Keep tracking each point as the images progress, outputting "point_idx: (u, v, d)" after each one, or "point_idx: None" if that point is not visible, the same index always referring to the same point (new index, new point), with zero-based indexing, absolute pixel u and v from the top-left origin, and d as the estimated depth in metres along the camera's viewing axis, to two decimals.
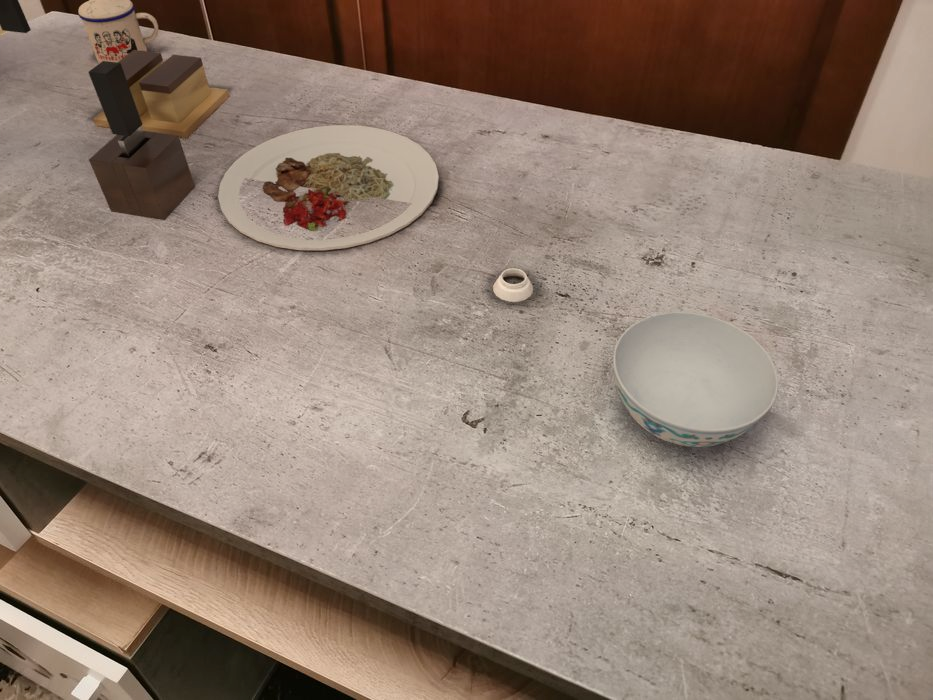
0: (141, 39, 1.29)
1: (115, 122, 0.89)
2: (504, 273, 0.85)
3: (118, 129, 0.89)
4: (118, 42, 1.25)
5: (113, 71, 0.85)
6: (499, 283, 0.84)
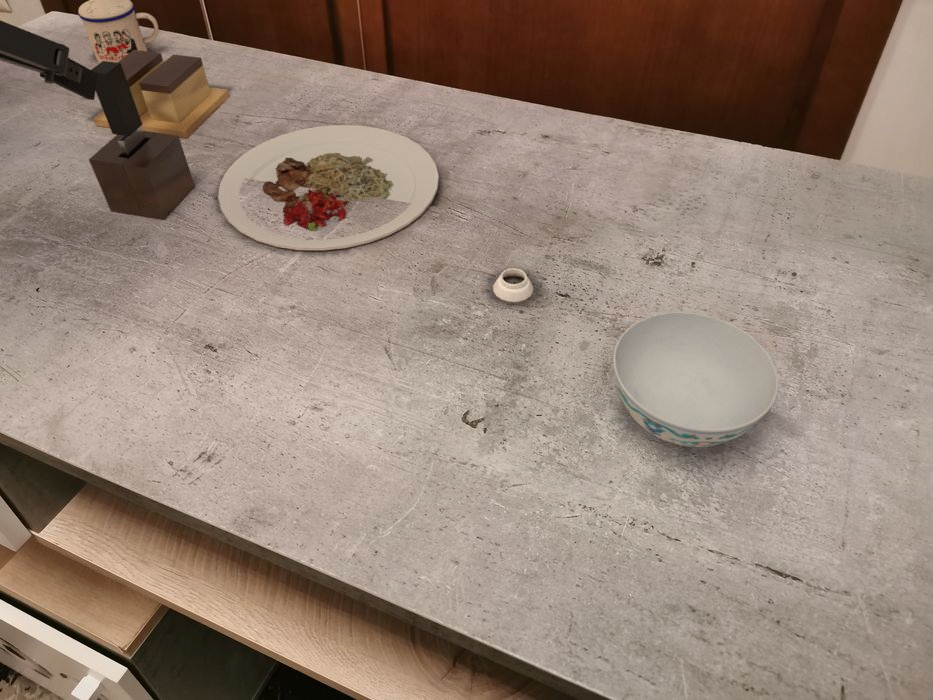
0: (141, 39, 1.29)
1: (115, 122, 0.89)
2: (504, 273, 0.85)
3: (118, 129, 0.89)
4: (118, 42, 1.25)
5: (113, 71, 0.85)
6: (499, 283, 0.84)
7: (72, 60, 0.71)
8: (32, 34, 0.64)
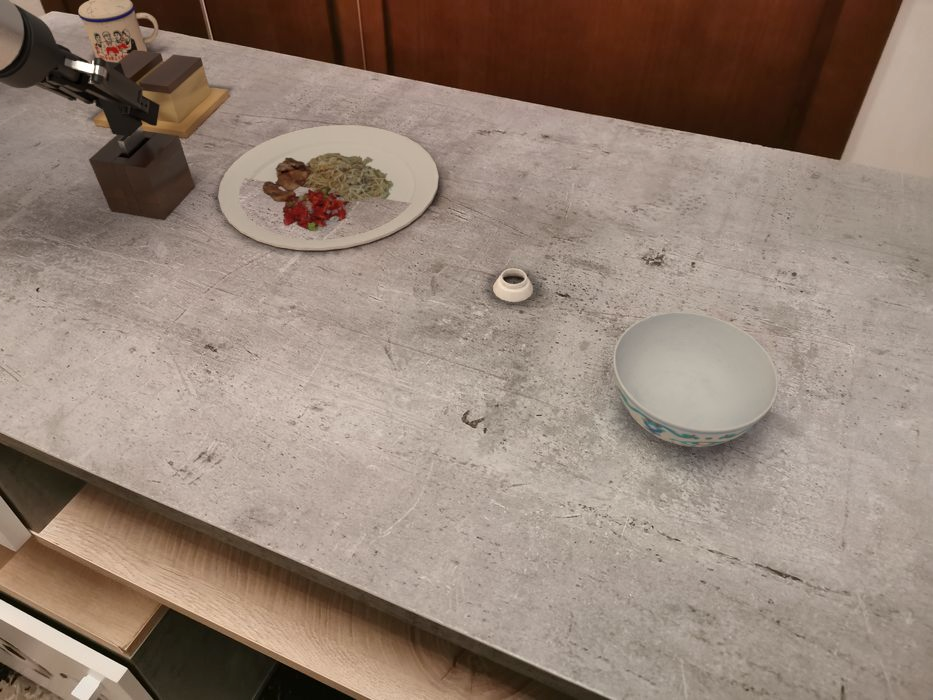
0: (141, 39, 1.29)
1: (115, 122, 0.89)
2: (504, 273, 0.85)
3: (118, 129, 0.89)
4: (118, 41, 1.25)
5: None
6: (499, 284, 0.84)
7: (141, 95, 0.90)
8: (129, 80, 0.82)
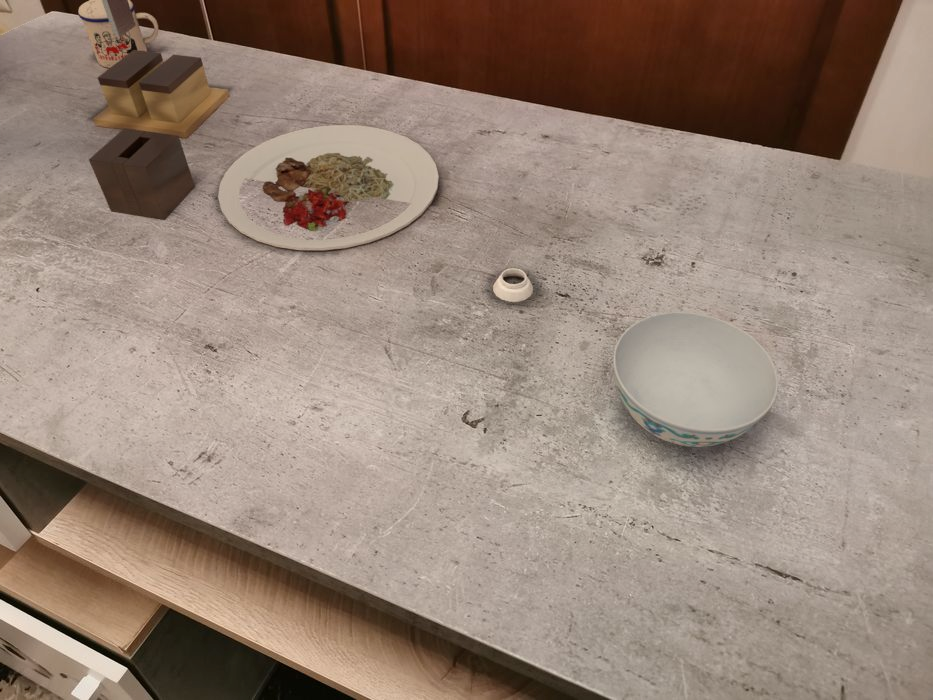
0: (141, 39, 1.29)
1: None
2: (504, 273, 0.85)
3: None
4: (118, 42, 1.25)
5: None
6: (499, 284, 0.84)
7: None
8: None
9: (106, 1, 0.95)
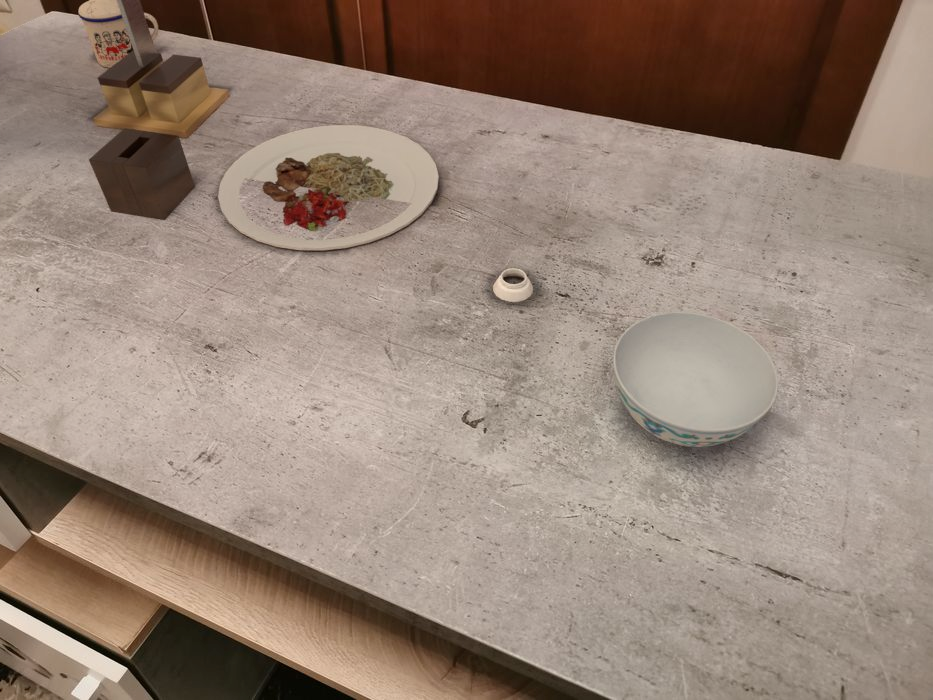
0: None
1: None
2: (504, 273, 0.85)
3: None
4: (118, 41, 1.25)
5: None
6: (499, 284, 0.84)
7: None
8: None
9: (132, 36, 1.07)
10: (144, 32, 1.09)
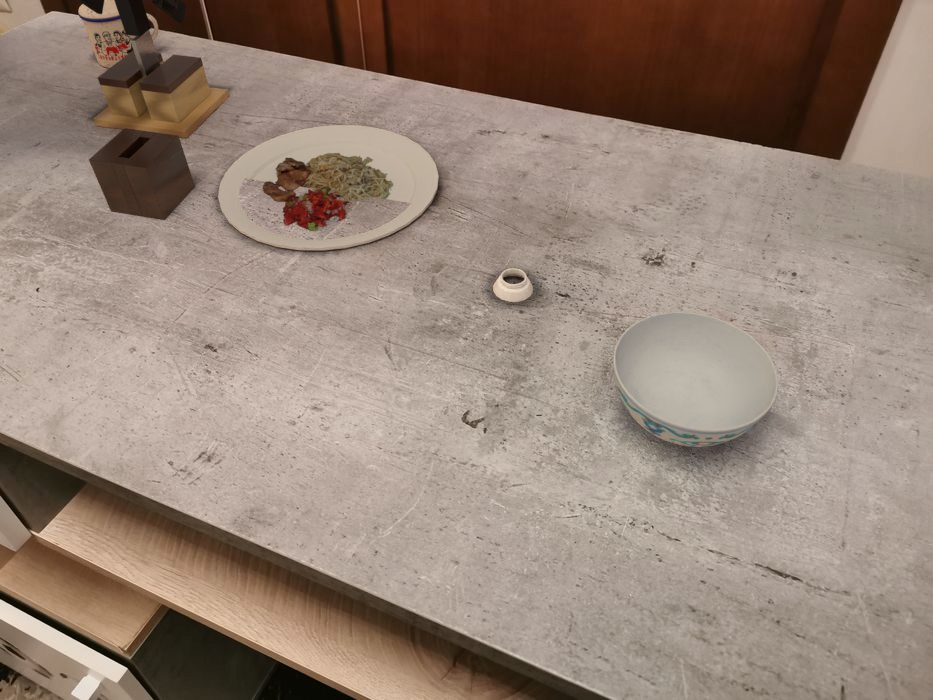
0: None
1: (128, 23, 1.06)
2: (504, 273, 0.85)
3: (131, 30, 1.07)
4: (118, 41, 1.25)
5: None
6: (499, 284, 0.84)
7: None
8: None
9: None
10: None
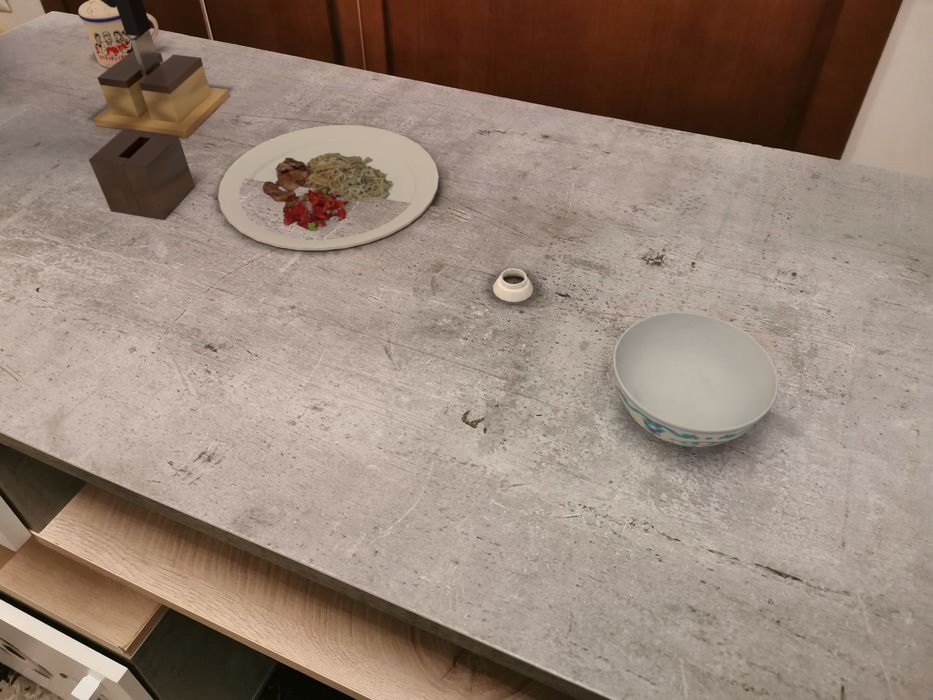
0: None
1: (128, 23, 1.06)
2: (504, 273, 0.85)
3: (131, 30, 1.07)
4: (118, 41, 1.25)
5: None
6: (498, 284, 0.84)
7: None
8: None
9: None
10: None
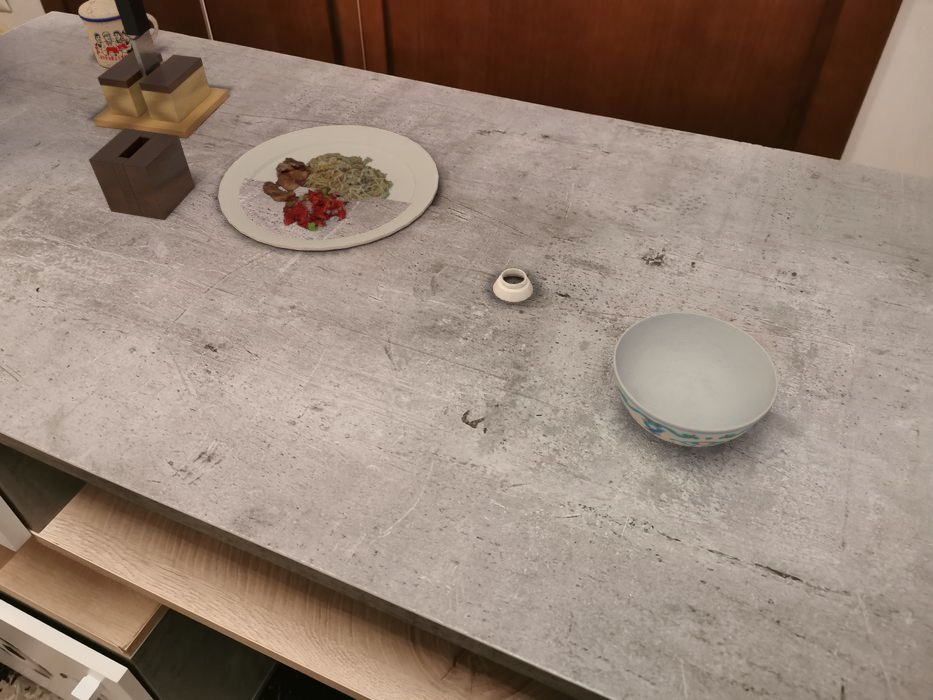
0: None
1: (128, 23, 1.06)
2: (504, 273, 0.85)
3: (131, 30, 1.07)
4: (118, 42, 1.25)
5: None
6: (499, 284, 0.84)
7: None
8: None
9: None
10: None
